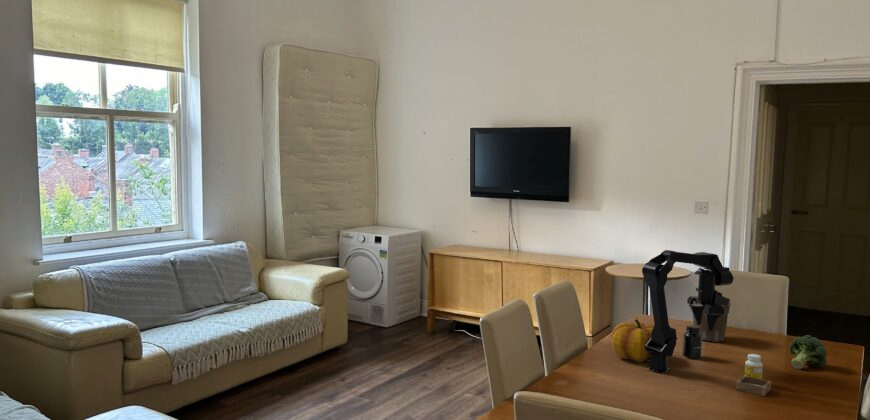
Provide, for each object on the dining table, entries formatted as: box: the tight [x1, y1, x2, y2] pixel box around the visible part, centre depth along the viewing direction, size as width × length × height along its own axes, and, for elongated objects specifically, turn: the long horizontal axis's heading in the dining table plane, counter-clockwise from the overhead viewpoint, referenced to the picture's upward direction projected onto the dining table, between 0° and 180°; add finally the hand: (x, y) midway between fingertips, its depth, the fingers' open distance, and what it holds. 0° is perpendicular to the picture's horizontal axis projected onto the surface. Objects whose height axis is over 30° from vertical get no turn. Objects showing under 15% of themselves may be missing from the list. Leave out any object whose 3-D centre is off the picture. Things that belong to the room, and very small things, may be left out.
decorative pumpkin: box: [611, 318, 662, 363], centre depth 254 cm, size 20×22×15 cm
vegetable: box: [788, 334, 828, 370], centre depth 245 cm, size 12×13×15 cm
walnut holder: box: [735, 375, 772, 397], centre depth 220 cm, size 9×9×3 cm
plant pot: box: [692, 301, 732, 343], centre depth 282 cm, size 16×16×16 cm
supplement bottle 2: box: [744, 353, 764, 379], centre depth 226 cm, size 5×5×10 cm
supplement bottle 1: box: [682, 324, 703, 360], centre depth 256 cm, size 7×7×12 cm
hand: (704, 327), depth 247 cm, fingers open, 9 cm apart
